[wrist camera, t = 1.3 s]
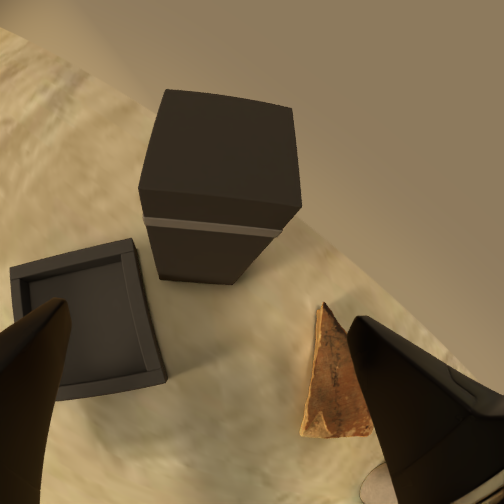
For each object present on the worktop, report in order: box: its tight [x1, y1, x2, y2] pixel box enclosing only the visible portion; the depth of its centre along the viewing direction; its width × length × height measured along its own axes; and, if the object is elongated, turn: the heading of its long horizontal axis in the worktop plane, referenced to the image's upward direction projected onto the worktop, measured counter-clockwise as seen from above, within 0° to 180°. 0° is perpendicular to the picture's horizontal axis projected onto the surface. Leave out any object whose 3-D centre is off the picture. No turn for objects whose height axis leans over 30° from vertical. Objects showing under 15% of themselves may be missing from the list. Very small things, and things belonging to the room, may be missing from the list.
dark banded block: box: [138, 89, 302, 285], centre depth 16 cm, size 5×6×13 cm
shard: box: [300, 302, 374, 438], centre depth 21 cm, size 11×8×2 cm
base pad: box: [10, 238, 167, 401], centre depth 17 cm, size 10×10×2 cm
